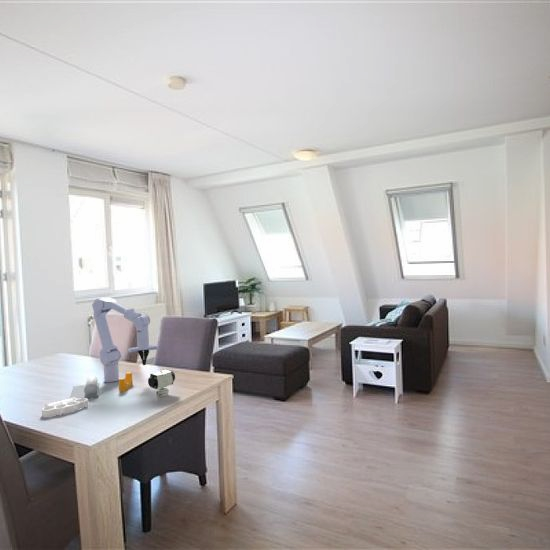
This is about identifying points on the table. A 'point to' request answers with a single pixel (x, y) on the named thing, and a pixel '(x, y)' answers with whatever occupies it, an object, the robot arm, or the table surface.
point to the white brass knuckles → (64, 406)
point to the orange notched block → (125, 382)
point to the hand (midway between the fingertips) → (144, 364)
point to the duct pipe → (86, 389)
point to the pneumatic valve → (161, 381)
